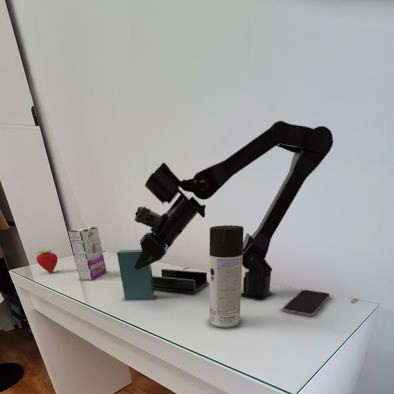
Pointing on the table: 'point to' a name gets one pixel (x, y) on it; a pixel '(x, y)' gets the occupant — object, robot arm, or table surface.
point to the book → (135, 276)
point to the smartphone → (306, 303)
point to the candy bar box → (88, 252)
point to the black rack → (180, 281)
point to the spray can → (225, 275)
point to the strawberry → (47, 260)
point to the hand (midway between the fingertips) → (139, 264)
